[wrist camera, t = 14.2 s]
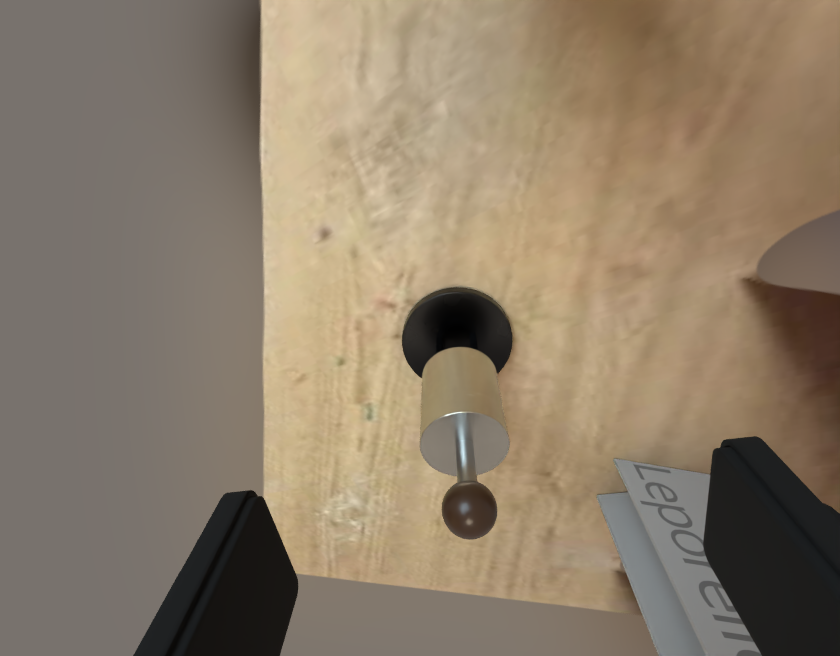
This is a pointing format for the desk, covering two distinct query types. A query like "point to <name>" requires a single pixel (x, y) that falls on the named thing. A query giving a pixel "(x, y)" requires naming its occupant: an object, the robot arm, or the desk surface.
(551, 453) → the desk surface
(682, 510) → the brochure
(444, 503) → the knobbed metal cylinder
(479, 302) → the holder base
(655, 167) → the desk surface
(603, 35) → the desk surface
